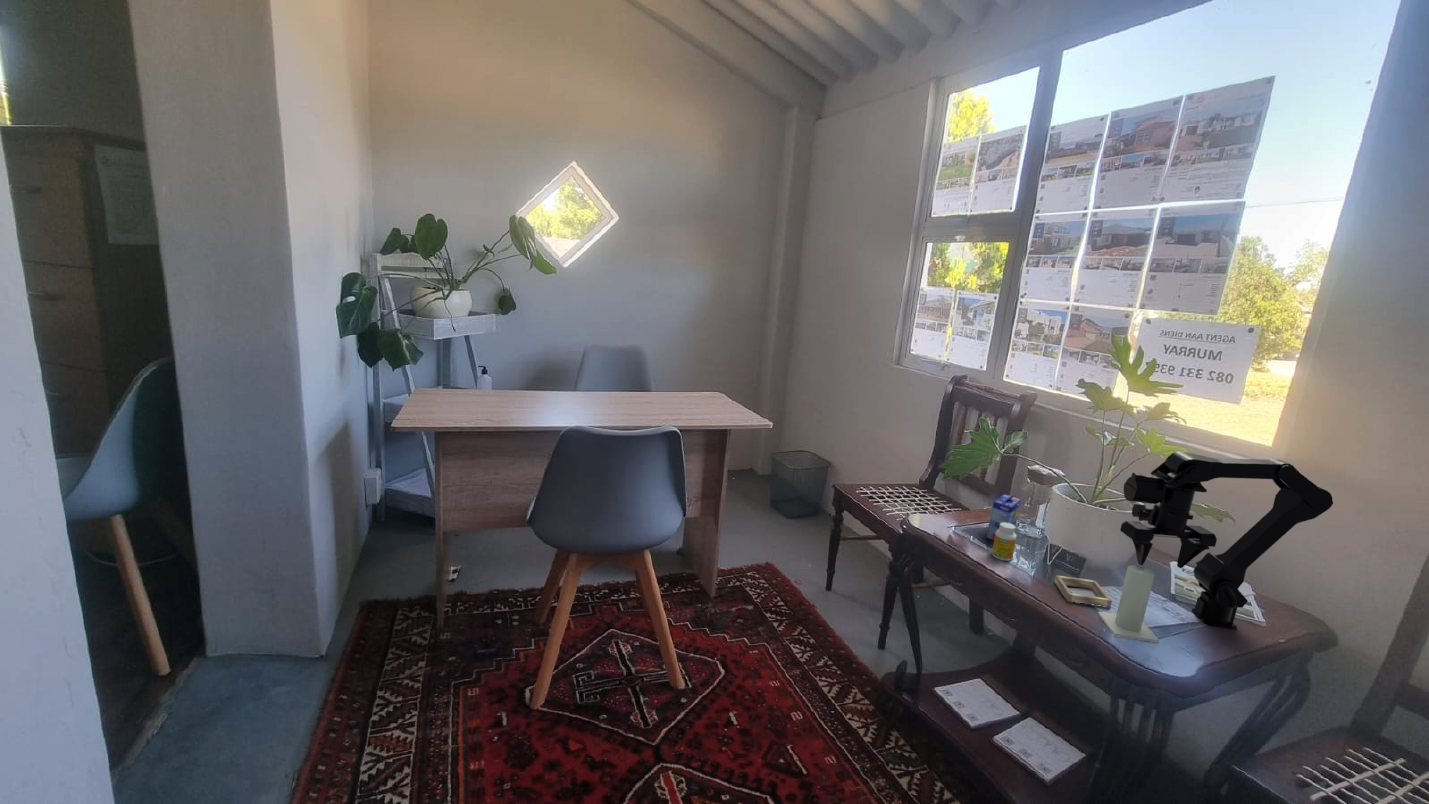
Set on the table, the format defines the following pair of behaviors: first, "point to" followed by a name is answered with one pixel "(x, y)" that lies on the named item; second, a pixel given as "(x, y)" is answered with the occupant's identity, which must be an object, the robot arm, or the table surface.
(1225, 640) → the table surface
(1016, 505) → the ink cartridge box
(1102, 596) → the birch collar
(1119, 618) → the ceramic canister
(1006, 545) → the supplement bottle
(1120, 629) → the cream square tile
